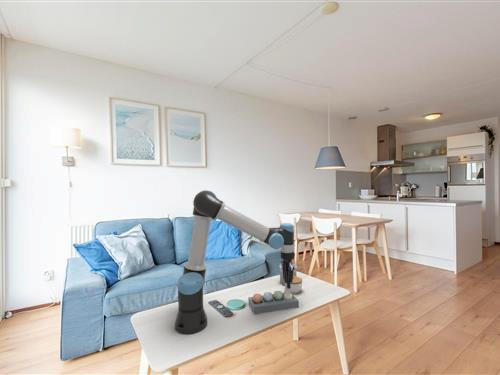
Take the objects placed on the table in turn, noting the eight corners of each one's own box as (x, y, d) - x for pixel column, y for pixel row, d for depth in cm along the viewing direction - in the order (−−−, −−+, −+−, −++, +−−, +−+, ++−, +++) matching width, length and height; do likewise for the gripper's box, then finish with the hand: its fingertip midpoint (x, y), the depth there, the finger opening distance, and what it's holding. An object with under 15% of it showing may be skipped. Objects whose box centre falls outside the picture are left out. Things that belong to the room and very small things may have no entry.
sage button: (275, 301, 138) (275, 294, 138) (273, 297, 142) (273, 291, 142) (283, 299, 139) (283, 293, 139) (280, 296, 143) (280, 290, 143)
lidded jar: (301, 288, 161) (301, 273, 161) (303, 295, 151) (303, 280, 151) (284, 287, 162) (284, 273, 162) (285, 295, 152) (284, 279, 152)
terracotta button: (254, 304, 135) (254, 297, 135) (252, 300, 139) (252, 294, 139) (262, 303, 136) (262, 296, 136) (260, 299, 140) (259, 293, 140)
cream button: (286, 303, 139) (286, 296, 139) (283, 299, 143) (283, 293, 143) (293, 302, 140) (293, 295, 140) (290, 298, 144) (290, 292, 144)
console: (254, 314, 131) (254, 307, 131) (248, 303, 142) (248, 297, 142) (298, 307, 137) (298, 300, 137) (289, 297, 148) (289, 291, 148)
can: (300, 283, 169) (300, 265, 169) (289, 288, 162) (289, 269, 161) (287, 278, 178) (286, 261, 178) (276, 283, 170) (275, 265, 170)
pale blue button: (265, 302, 136) (265, 296, 136) (262, 299, 140) (262, 292, 140) (273, 301, 137) (272, 295, 137) (270, 297, 141) (270, 291, 141)
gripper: (298, 253, 136) (299, 297, 136) (288, 247, 149) (289, 288, 149) (285, 255, 134) (286, 299, 134) (276, 248, 147) (277, 289, 147)
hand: (287, 293), depth 142 cm, fingers closed
